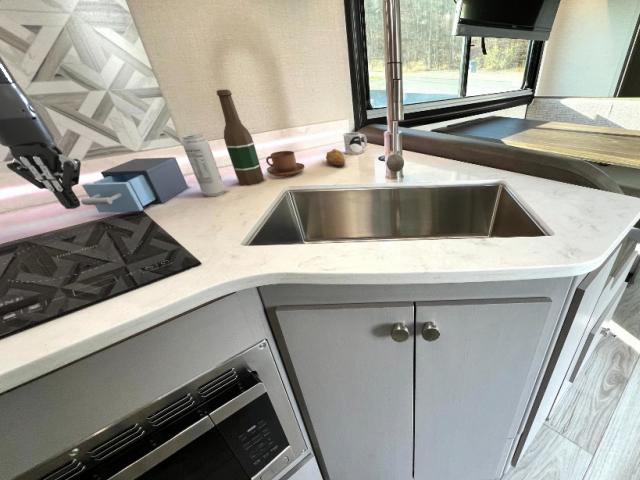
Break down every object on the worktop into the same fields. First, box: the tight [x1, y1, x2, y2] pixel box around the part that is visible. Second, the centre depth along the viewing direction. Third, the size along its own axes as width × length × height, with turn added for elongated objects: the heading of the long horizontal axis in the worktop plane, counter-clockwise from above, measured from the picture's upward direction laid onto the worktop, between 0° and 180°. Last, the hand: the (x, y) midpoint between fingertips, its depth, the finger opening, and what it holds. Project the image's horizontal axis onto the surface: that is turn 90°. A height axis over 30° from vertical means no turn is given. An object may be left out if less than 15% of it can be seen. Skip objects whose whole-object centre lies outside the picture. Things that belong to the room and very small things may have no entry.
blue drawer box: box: [100, 156, 189, 205], centre depth 88 cm, size 14×12×9 cm
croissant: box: [325, 148, 346, 167], centre depth 111 cm, size 14×7×5 cm, turn 28°
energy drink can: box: [181, 133, 226, 197], centre depth 86 cm, size 6×6×15 cm
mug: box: [342, 131, 368, 155], centre depth 125 cm, size 10×7×7 cm
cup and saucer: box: [265, 150, 305, 177], centre depth 103 cm, size 12×12×6 cm
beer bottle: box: [216, 89, 265, 186], centre depth 91 cm, size 8×8×24 cm
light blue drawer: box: [80, 174, 157, 214], centre depth 79 cm, size 17×10×7 cm, turn 1°
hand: (74, 207), depth 67 cm, fingers closed
